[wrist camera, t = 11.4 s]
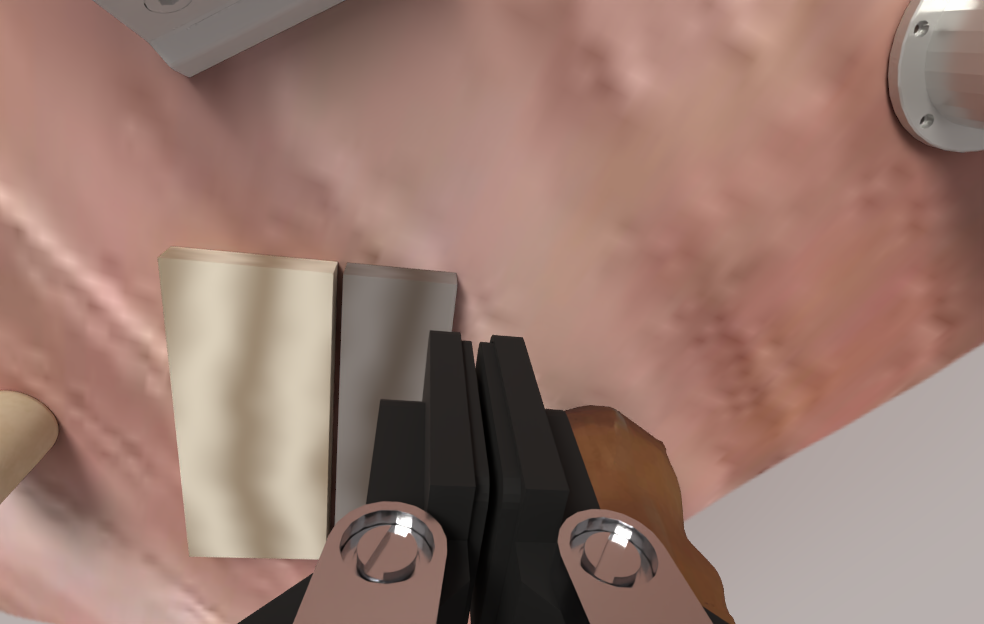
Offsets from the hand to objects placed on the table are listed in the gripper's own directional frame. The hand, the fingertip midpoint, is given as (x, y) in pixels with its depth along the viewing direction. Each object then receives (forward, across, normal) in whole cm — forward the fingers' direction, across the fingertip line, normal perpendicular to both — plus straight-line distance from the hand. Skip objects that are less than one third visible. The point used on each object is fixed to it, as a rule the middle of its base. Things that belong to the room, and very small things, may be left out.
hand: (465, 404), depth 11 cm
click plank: (+27, +11, +20) cm, 35 cm away
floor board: (+27, +2, +20) cm, 34 cm away
